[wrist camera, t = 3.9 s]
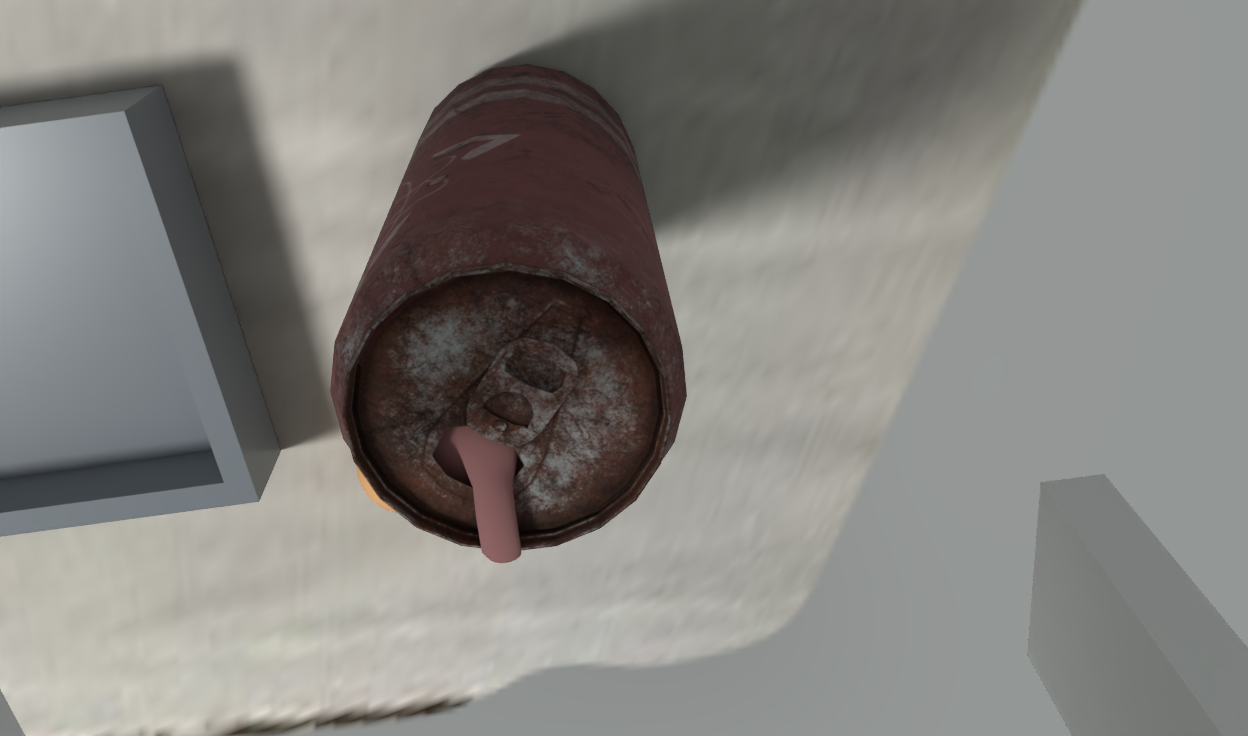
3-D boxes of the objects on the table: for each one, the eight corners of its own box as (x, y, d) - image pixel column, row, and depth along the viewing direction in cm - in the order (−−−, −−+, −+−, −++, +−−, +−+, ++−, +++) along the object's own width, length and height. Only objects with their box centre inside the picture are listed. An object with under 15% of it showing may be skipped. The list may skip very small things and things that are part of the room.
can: (440, 290, 31) (365, 600, 19) (399, 73, 28) (279, 272, 16) (643, 268, 31) (703, 563, 19) (624, 49, 28) (680, 230, 16)
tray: (-81, 499, 33) (-131, 554, 31) (-269, 143, 28) (-349, 175, 26) (280, 450, 33) (258, 501, 31) (161, 85, 28) (124, 110, 25)
